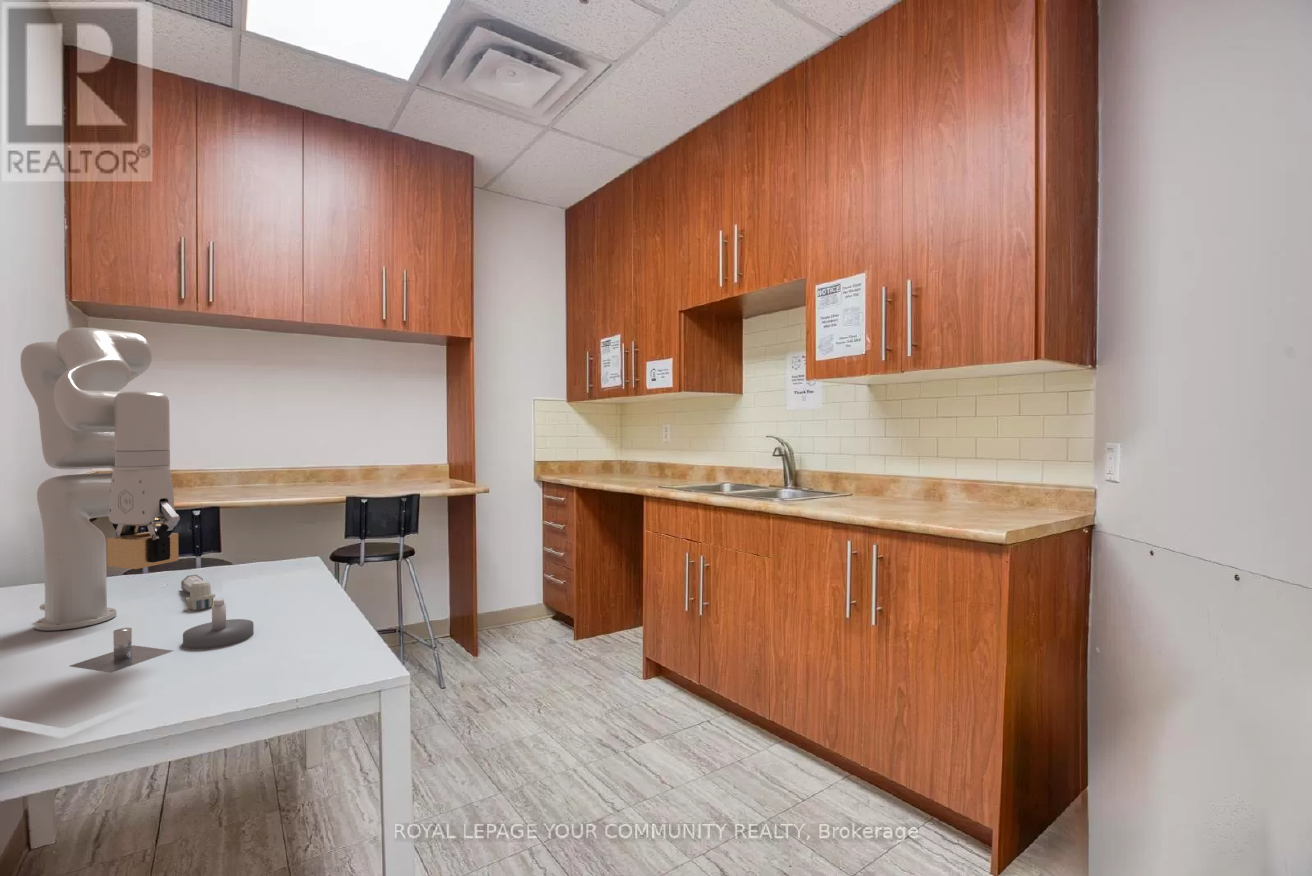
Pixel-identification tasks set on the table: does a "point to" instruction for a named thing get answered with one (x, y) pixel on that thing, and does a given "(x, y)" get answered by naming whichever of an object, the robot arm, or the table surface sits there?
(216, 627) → the hub
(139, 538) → the collar
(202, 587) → the toothbrush head
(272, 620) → the table surface
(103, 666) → the stand
